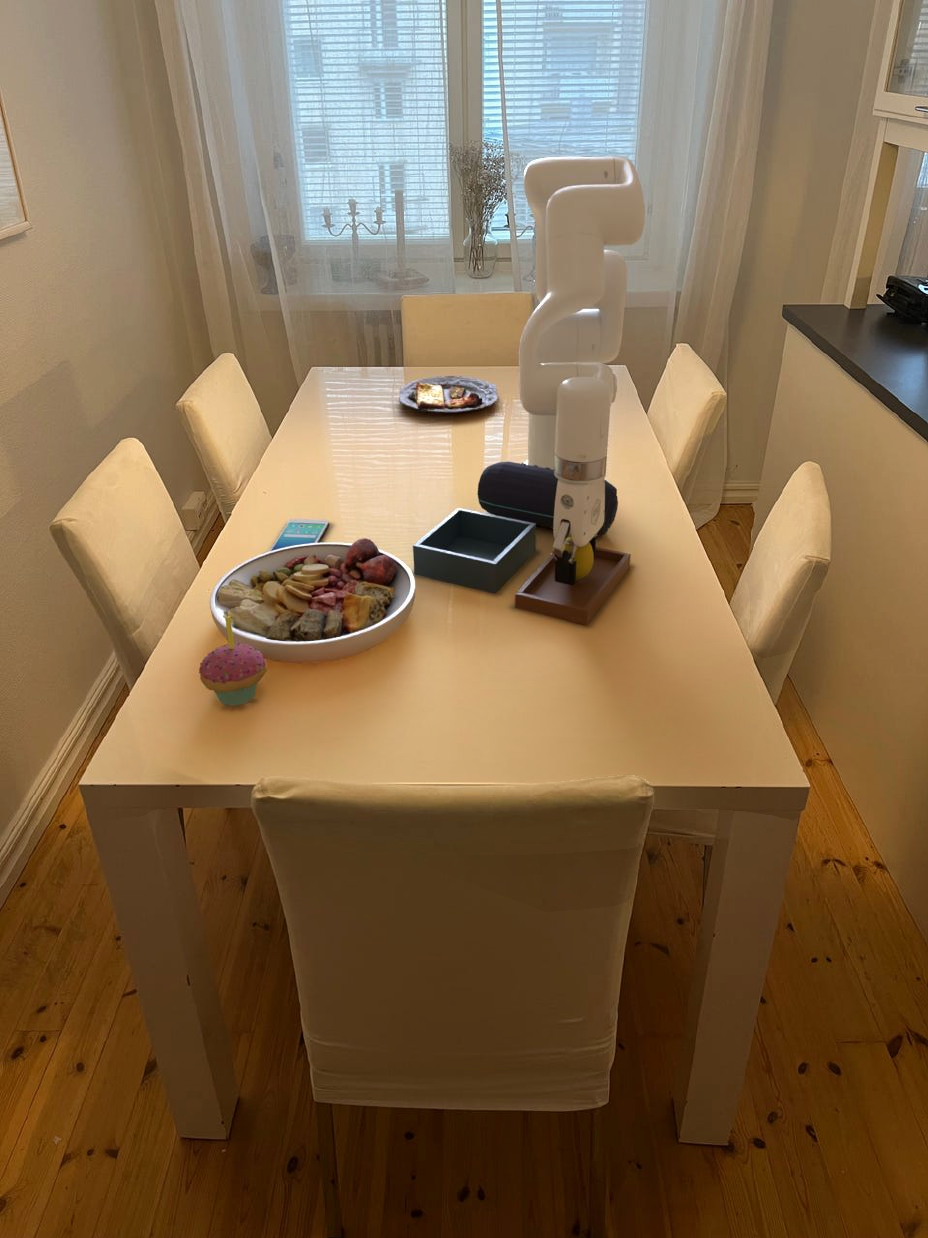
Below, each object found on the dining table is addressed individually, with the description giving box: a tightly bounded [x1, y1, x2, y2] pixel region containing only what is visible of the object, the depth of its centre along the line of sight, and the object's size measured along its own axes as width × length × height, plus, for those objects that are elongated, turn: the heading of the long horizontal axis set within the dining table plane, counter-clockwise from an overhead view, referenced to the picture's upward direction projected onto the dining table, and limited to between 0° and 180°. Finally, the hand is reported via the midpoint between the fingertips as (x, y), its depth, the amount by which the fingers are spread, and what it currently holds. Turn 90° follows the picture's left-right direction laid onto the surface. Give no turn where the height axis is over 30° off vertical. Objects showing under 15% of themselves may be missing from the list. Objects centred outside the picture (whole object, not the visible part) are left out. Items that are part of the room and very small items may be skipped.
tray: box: [514, 546, 632, 626], centre depth 145 cm, size 20×12×2 cm, turn 153°
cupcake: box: [198, 610, 268, 707], centre depth 120 cm, size 9×8×12 cm
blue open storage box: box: [412, 507, 537, 595], centre depth 152 cm, size 16×15×5 cm
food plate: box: [398, 375, 498, 414], centre depth 221 cm, size 25×23×4 cm
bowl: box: [209, 537, 417, 664], centre depth 138 cm, size 30×30×8 cm
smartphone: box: [268, 518, 330, 552], centre depth 160 cm, size 8×1×15 cm
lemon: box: [565, 537, 594, 581], centre depth 143 cm, size 6×6×8 cm
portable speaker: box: [476, 461, 619, 537], centre depth 162 cm, size 25×10×10 cm, turn 62°
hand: (575, 570), depth 144 cm, fingers open, 7 cm apart
